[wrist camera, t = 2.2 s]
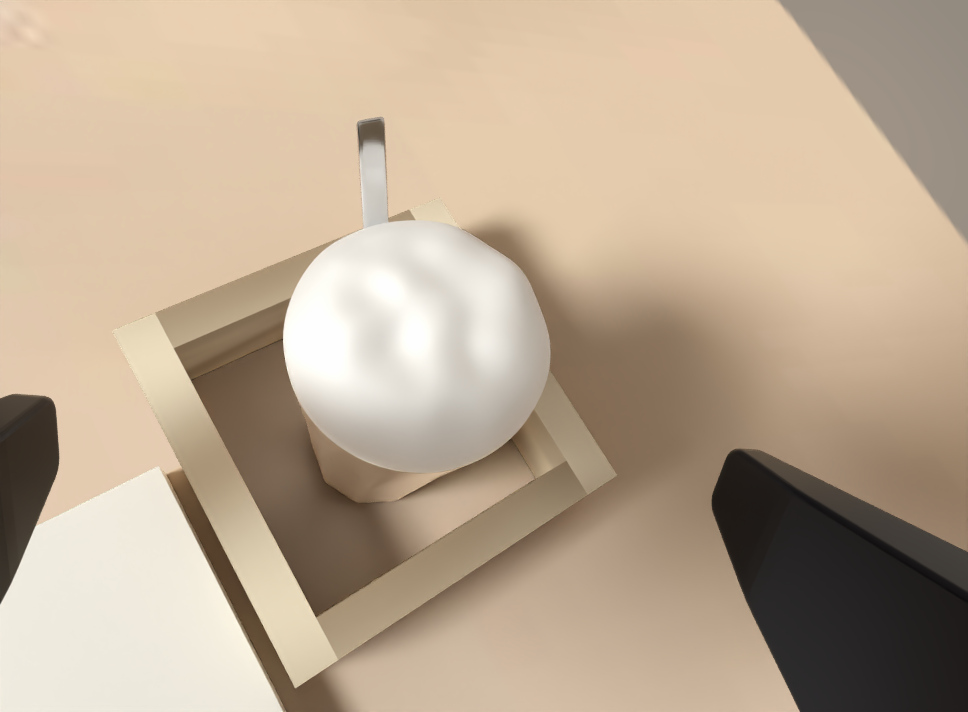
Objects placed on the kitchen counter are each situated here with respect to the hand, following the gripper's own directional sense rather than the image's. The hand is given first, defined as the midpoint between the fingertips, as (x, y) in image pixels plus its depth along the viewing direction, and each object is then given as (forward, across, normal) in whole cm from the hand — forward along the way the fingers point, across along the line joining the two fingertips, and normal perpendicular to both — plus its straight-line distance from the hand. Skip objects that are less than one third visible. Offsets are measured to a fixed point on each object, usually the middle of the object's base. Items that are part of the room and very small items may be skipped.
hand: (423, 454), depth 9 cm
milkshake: (+9, 0, +5) cm, 11 cm away
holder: (+9, 0, +5) cm, 10 cm away
